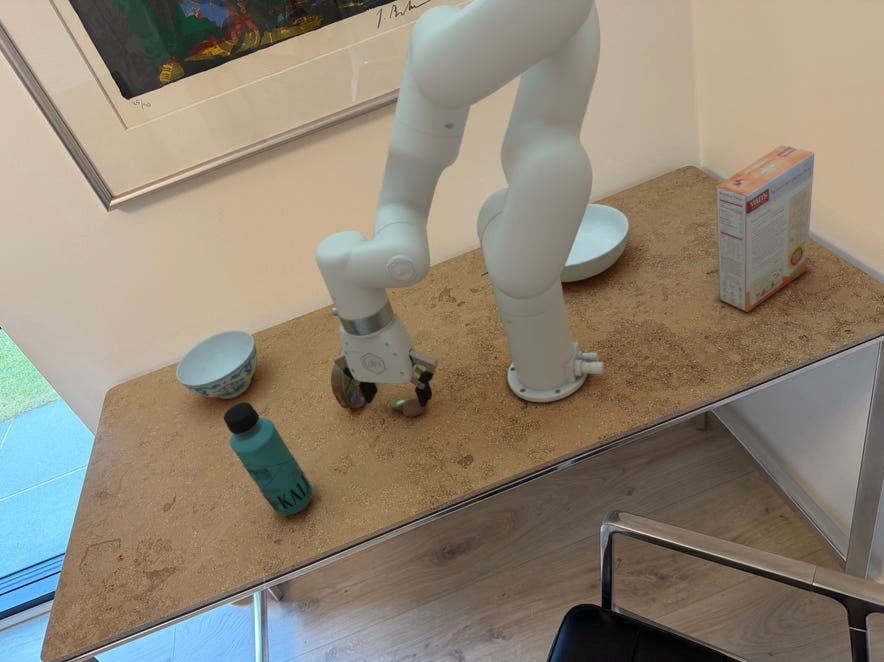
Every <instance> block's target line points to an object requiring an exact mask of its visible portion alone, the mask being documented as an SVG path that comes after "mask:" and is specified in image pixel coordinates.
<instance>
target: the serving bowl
mask: <svg viewBox="0 0 884 662" xmlns="http://www.w3.org/2000/svg"><path fill="white" fill-rule="evenodd" d="M629 232H630V223H629V219H628V217H627V216H626V214H624V213H623V212H622V211H620V210H619V209H617V208H615V207H612V206H608V205H604V204H600V203H599V204H598V203H588V205H587V208H586V211H585V213H584V216H583V219H582V222H581V224H580V227H579V230H578V233H577V235H576V238H575V241H574V244H573V246H572V249H571V252H570V254H569V257H568V260H567V262H566V264H565V267H564V269H563V271H562V273H561V275H560V279H561V283H570V282H578V281H582V280H585V279H590V278H591V277H594V276H596V275H598V274H600V273H603V272H604V271H606V270H607V269H608V268H610V267H611V266H612V265H614V263H616V261H617V260H618V259H619V258H620V257H621V256H622V254H623V252H625V251H624V250H625V248H626V246H627V244H628V240H629V234H630V233H629Z"/></svg>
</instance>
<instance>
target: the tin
mask: <svg viewBox="0 0 884 662" xmlns="http://www.w3.org/2000/svg"><path fill="white" fill-rule="evenodd" d="M343 352H344V351H343V347H342V346H341V349H340V351H339V354H341V353H343ZM339 354H338V355H339ZM330 386H331V391H332V394H333V396H334V397H335V399H336V401H337V403H338V404H339V405H340V407H341V408H344V409H360V408H362V407H363V406H364V405H365V404H366V401H365V399H364V397H363V395H362V393H361V390H360V388H359V386H358V385H355V384H354V383H353V379H351V378H350V377H348V376H347V375H345V374H344V373H343V370H341V369H340V368H339V367H338V366H337V365H336V364H335V363H334V365H333V367H332V370H331V374H330Z"/></svg>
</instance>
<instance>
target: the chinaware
mask: <svg viewBox="0 0 884 662" xmlns="http://www.w3.org/2000/svg"><path fill="white" fill-rule="evenodd" d="M257 363H258V351H257V345H256V343H255V340H254V337H253V336H252V334H251V333H249V332H248V331H245V330H239V329H238V330H237V329H235V330H227V331H223V332H220V333H217V334H213V335H211V336H210V337H209V336H208V338H207V337H206V338H205V339H204V340H201V341H200V342H198V343H197V344H195V345H194V346H193V347H191V349H190V350H188V351H187V353H185V354H184V356H183V357H182V358H181V360H180V361H179V362H178V365H177V367H176V371H175V375H176V378H177V380H178V381H179V383H180V384H181V385H183V386H184V387H185V388H186V389H188V390H189V391H191V392H193V393H195V394H197V395H200V396H203V397H207V398H220V399H222V400H223V399H224V400H226V399H227V400H229V399H233V398H235V397H237V396H240V395H241V394H243V393H244V392H245V391H246V390H247V389H248V388H249V386H250V385H251V381H252V377H253V375H254V373H255V371H256V367H257Z"/></svg>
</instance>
